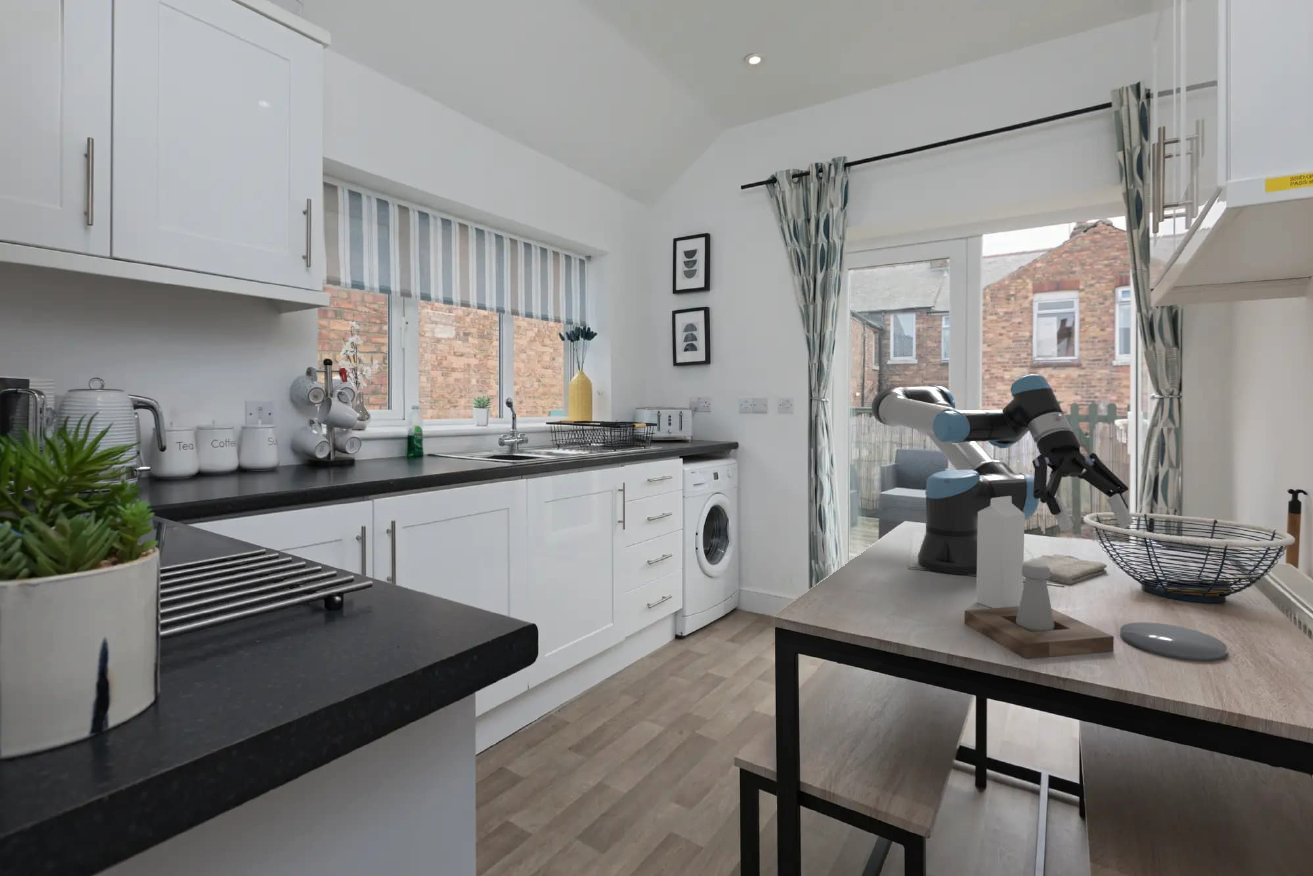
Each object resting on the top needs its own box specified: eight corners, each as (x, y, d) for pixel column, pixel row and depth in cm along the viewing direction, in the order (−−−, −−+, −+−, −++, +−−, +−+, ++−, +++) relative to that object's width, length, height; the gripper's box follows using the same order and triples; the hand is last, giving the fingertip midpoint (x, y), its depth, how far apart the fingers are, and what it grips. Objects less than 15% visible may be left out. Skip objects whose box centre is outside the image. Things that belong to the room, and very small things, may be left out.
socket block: (964, 623, 119) (964, 610, 119) (1041, 617, 121) (1042, 604, 121) (1025, 658, 103) (1026, 643, 103) (1113, 651, 105) (1113, 636, 105)
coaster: (1100, 630, 114) (1100, 625, 114) (1168, 625, 116) (1168, 619, 116) (1174, 663, 100) (1174, 657, 100) (1250, 656, 102) (1250, 650, 102)
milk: (1022, 607, 127) (1026, 498, 125) (1001, 611, 125) (1005, 500, 123) (995, 598, 133) (998, 493, 131) (975, 602, 130) (977, 495, 128)
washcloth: (1109, 573, 149) (1109, 560, 149) (1071, 587, 140) (1071, 573, 139) (1055, 563, 159) (1055, 550, 159) (1016, 575, 150) (1016, 562, 149)
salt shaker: (1059, 643, 109) (1061, 569, 108) (1022, 641, 110) (1024, 568, 109) (1045, 631, 114) (1047, 560, 113) (1010, 629, 115) (1012, 559, 114)
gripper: (1012, 429, 134) (1054, 522, 124) (1116, 426, 138) (1166, 516, 127) (992, 447, 141) (1030, 537, 130) (1093, 444, 144) (1138, 531, 133)
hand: (1098, 527), depth 128 cm, fingers open, 13 cm apart
